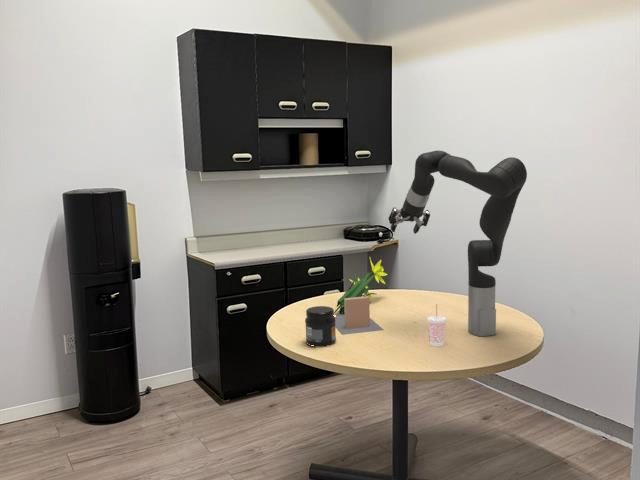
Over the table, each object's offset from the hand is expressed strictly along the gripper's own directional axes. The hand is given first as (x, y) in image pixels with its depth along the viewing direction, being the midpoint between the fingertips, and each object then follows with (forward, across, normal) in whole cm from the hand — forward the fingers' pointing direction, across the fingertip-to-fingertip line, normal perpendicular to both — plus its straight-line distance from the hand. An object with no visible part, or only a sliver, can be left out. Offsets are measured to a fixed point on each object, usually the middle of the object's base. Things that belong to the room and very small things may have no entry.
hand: (403, 231), depth 219 cm
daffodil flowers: (+46, -6, 0) cm, 46 cm away
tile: (+29, -14, -23) cm, 40 cm away
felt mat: (+33, -14, -18) cm, 40 cm away
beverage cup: (+12, +7, -42) cm, 44 cm away
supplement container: (+23, -30, -35) cm, 52 cm away
